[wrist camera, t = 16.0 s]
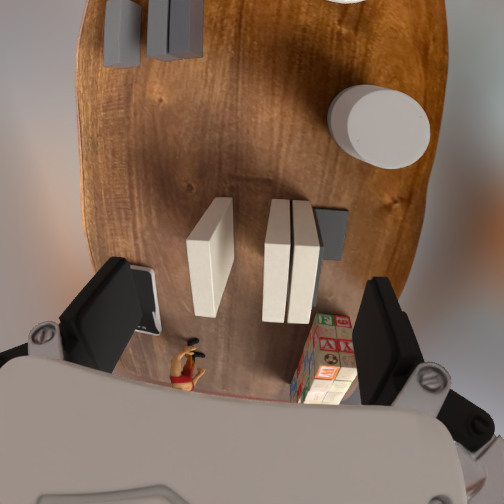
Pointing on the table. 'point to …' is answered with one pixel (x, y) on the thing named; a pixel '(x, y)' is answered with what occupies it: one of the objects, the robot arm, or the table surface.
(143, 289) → the smartphone
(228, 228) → the cream book
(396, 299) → the robot arm
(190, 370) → the action figure
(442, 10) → the table surface
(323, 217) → the white books
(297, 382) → the stack of blocks
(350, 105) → the smart speaker
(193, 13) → the grey books
